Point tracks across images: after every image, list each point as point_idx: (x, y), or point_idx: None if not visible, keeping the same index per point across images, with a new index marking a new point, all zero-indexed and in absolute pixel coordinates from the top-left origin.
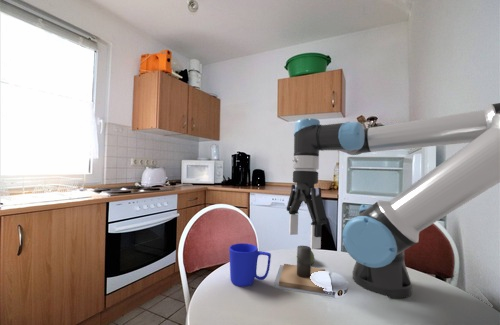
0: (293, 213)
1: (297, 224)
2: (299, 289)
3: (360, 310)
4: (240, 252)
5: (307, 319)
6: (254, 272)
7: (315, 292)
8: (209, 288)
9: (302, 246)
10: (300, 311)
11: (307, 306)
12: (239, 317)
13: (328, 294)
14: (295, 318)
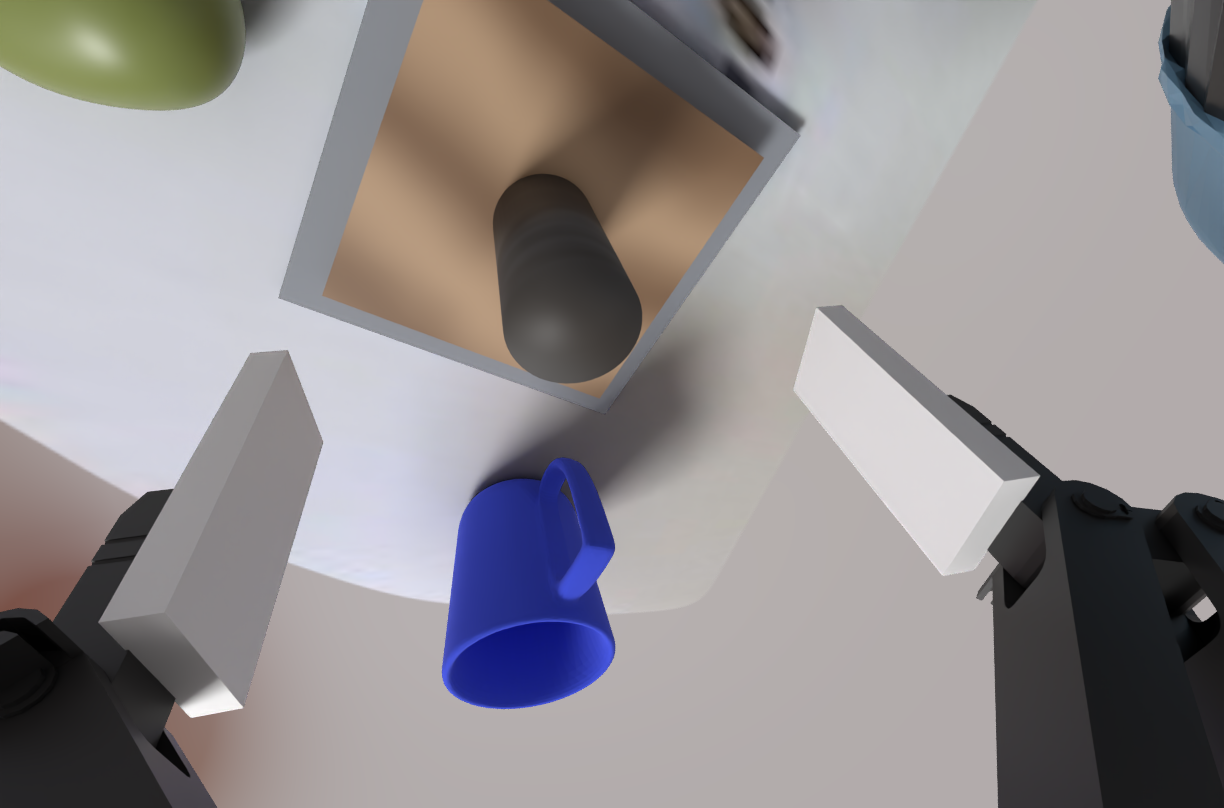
0: (146, 695)
1: (246, 455)
2: None
3: (935, 42)
4: (605, 670)
5: None
6: (564, 521)
7: None
8: None
9: (534, 328)
10: (793, 348)
11: (779, 308)
12: (736, 520)
13: (761, 153)
14: None
